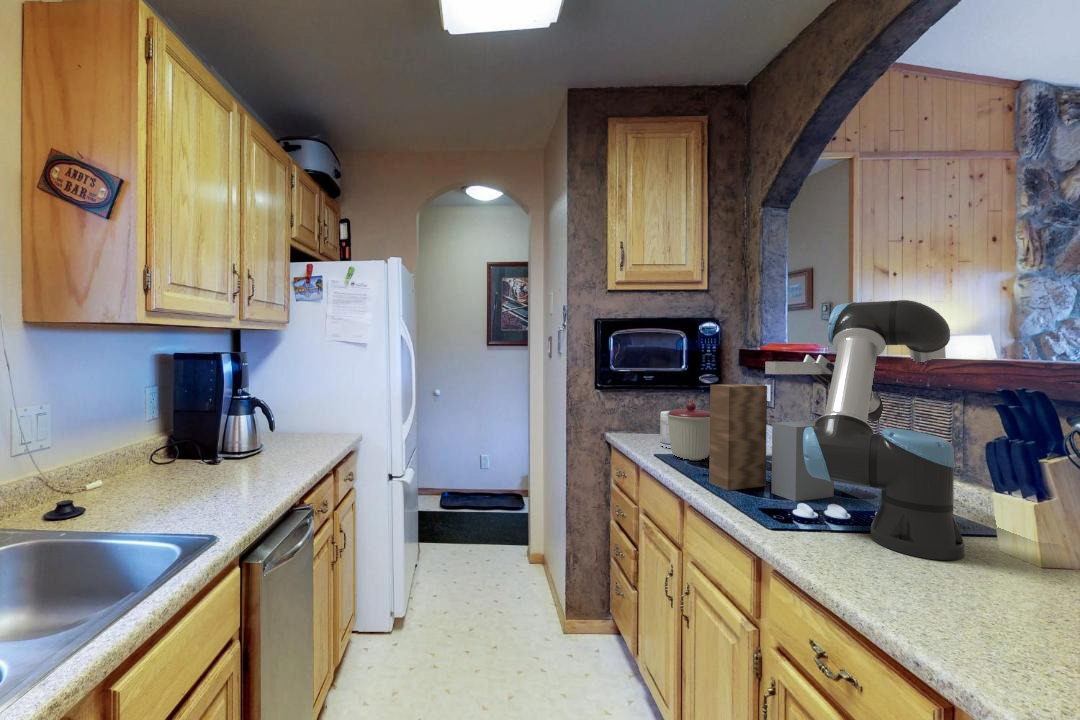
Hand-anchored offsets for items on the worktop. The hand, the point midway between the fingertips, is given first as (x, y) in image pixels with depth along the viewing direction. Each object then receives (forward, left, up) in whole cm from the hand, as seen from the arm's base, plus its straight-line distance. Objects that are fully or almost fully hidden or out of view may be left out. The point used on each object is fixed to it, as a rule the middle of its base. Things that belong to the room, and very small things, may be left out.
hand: (812, 358), depth 138 cm
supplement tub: (+53, +35, -38) cm, 74 cm away
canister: (+33, +30, -38) cm, 59 cm away
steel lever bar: (-2, +3, -4) cm, 6 cm away
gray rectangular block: (-9, +5, -38) cm, 39 cm away
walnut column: (-2, +21, -38) cm, 44 cm away
